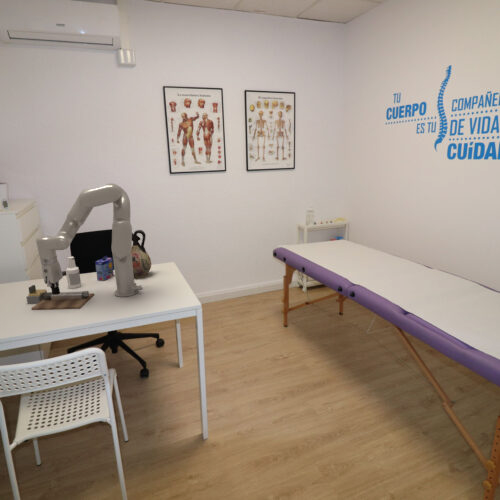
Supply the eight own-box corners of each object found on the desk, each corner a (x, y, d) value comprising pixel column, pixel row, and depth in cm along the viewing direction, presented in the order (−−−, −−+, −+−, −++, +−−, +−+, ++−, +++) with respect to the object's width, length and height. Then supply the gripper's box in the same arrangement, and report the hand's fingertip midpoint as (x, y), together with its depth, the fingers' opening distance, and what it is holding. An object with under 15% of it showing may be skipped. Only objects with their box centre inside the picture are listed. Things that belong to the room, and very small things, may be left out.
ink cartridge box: (104, 281, 218) (101, 258, 214) (96, 280, 219) (93, 257, 216) (114, 276, 227) (112, 254, 223) (107, 275, 229) (104, 253, 225)
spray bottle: (76, 289, 206) (71, 259, 201) (65, 288, 207) (61, 258, 202) (83, 285, 212) (79, 255, 207) (73, 284, 213) (69, 255, 209)
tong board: (94, 295, 196) (94, 293, 196) (79, 308, 179) (79, 306, 179) (50, 296, 196) (50, 294, 196) (31, 309, 179) (31, 308, 178)
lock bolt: (46, 291, 192) (45, 284, 191) (40, 295, 186) (38, 288, 185) (35, 291, 192) (33, 284, 191) (28, 296, 186) (27, 288, 185)
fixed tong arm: (83, 295, 193) (83, 291, 192) (81, 297, 190) (81, 293, 190) (48, 296, 192) (48, 292, 192) (46, 298, 190) (45, 293, 190)
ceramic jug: (123, 280, 219) (117, 232, 212) (132, 272, 234) (127, 227, 226) (150, 279, 219) (145, 232, 211) (157, 271, 233) (153, 226, 226)
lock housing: (48, 297, 194) (46, 291, 193) (39, 303, 186) (38, 296, 185) (36, 297, 194) (34, 291, 193) (27, 303, 186) (26, 296, 185)
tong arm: (90, 296, 192) (89, 291, 191) (86, 299, 188) (85, 293, 187) (48, 297, 192) (47, 291, 191) (43, 300, 188) (42, 294, 187)
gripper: (48, 264, 173) (56, 299, 178) (63, 255, 188) (70, 288, 193) (33, 265, 173) (41, 300, 178) (49, 256, 188) (56, 289, 193)
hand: (56, 293), depth 185 cm, fingers closed
